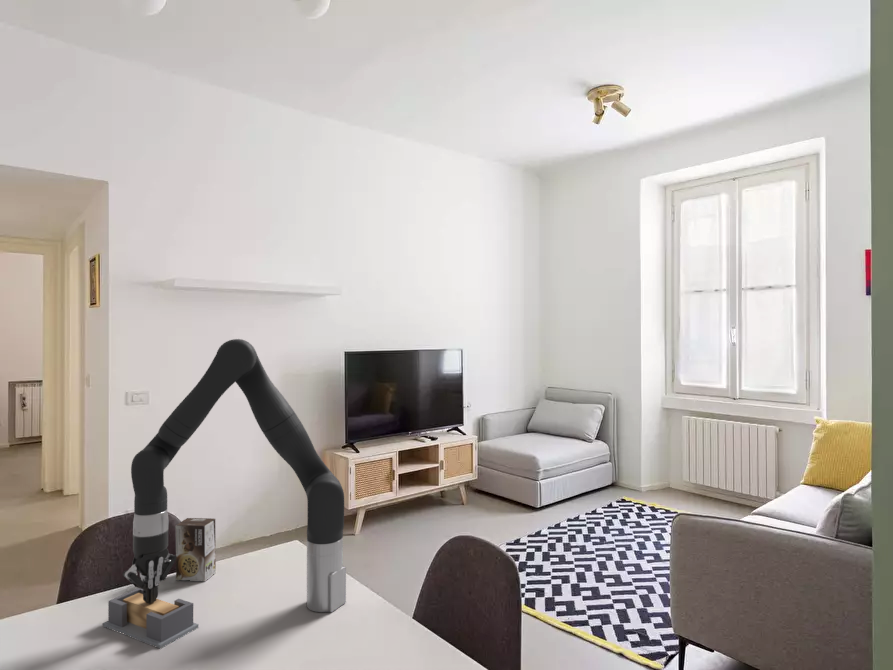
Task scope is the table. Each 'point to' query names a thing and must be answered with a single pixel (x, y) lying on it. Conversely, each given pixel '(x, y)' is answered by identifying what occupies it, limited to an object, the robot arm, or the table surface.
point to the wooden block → (145, 609)
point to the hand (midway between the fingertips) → (150, 601)
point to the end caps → (151, 621)
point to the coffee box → (195, 549)
